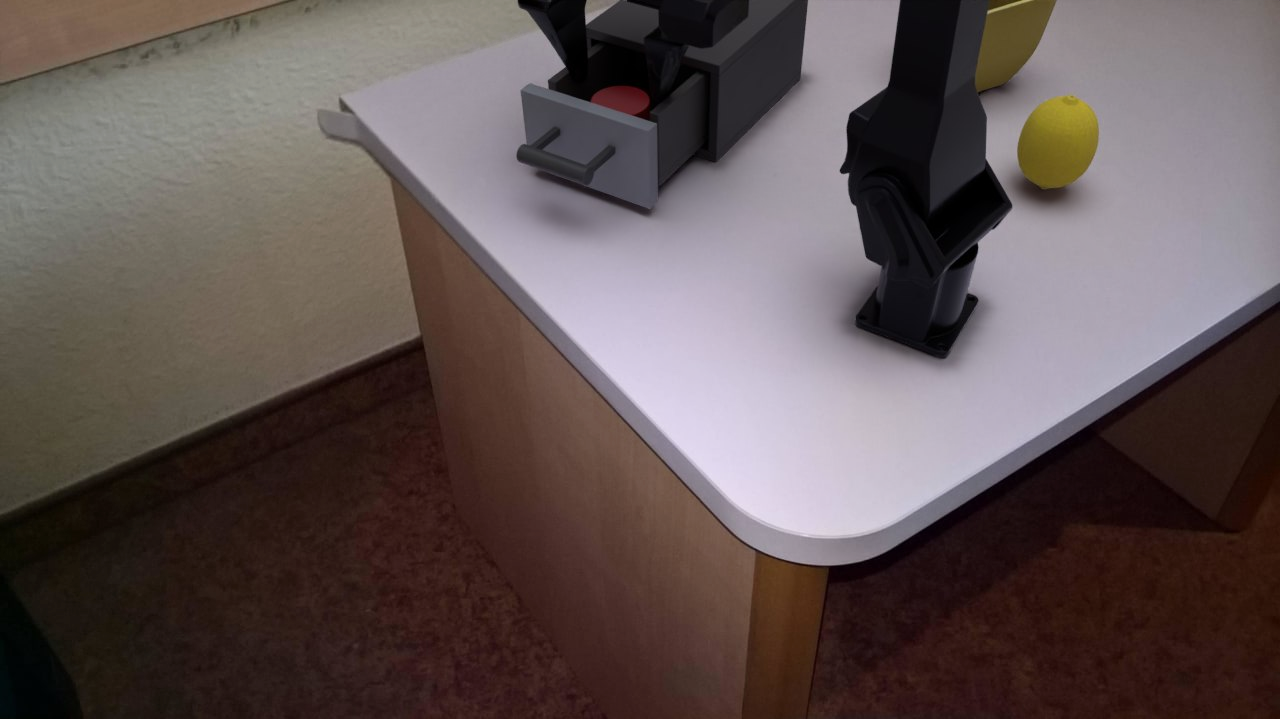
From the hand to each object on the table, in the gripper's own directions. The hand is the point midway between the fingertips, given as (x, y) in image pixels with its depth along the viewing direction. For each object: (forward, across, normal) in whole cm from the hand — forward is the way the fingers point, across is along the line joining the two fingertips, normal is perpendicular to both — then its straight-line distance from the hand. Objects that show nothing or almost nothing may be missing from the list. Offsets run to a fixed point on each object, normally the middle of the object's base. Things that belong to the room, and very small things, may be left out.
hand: (620, 93), depth 79 cm
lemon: (+7, -30, -14) cm, 34 cm away
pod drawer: (+6, 0, 0) cm, 6 cm away
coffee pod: (+5, 0, 0) cm, 5 cm away
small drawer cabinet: (+7, 0, -12) cm, 14 cm away
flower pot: (+7, -19, -27) cm, 34 cm away
